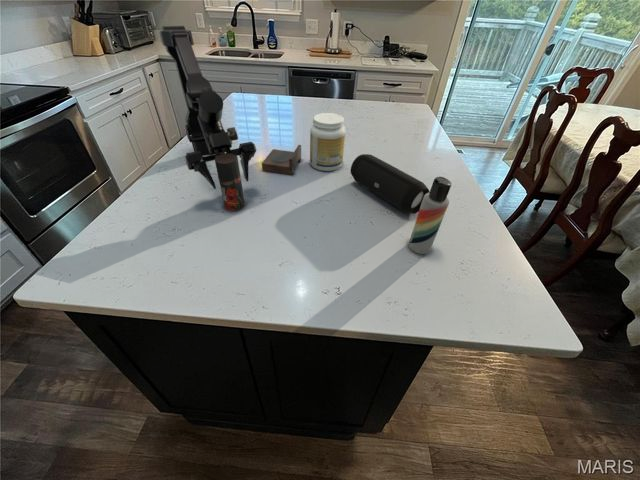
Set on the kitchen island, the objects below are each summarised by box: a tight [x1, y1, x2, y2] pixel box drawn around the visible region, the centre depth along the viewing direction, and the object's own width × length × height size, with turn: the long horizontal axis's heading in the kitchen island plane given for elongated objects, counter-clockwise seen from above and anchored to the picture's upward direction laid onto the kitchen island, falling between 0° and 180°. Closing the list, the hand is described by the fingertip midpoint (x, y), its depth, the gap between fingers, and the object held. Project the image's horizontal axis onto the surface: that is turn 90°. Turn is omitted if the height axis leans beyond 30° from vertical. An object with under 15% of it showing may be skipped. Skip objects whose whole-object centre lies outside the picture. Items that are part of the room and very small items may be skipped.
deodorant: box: [214, 153, 246, 212], centre depth 83 cm, size 6×6×15 cm
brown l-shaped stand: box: [261, 144, 302, 176], centre depth 106 cm, size 11×12×6 cm
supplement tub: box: [309, 112, 346, 172], centre depth 104 cm, size 12×12×17 cm
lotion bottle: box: [408, 176, 453, 255], centre depth 70 cm, size 6×6×20 cm
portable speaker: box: [350, 153, 430, 215], centre depth 92 cm, size 26×10×10 cm, turn 37°
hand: (231, 184), depth 82 cm, fingers open, 9 cm apart
